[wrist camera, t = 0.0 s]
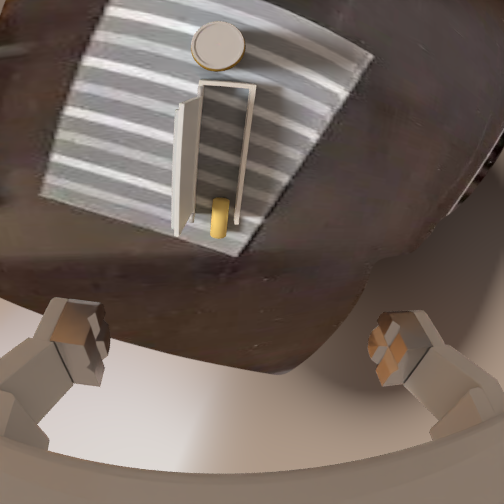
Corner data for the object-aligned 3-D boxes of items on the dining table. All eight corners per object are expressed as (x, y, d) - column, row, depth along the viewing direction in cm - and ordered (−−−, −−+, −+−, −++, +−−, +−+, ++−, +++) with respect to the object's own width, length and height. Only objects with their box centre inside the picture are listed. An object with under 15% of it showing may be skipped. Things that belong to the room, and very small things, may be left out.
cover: (199, 97, 44) (191, 96, 45) (184, 103, 37) (174, 103, 37) (192, 212, 55) (184, 211, 55) (178, 236, 48) (170, 235, 48)
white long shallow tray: (200, 79, 46) (198, 80, 43) (254, 83, 47) (257, 85, 44) (190, 213, 60) (189, 223, 56) (237, 215, 61) (238, 226, 57)
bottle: (245, 34, 42) (254, 24, 30) (235, 73, 46) (240, 77, 34) (202, 26, 41) (195, 13, 29) (192, 65, 45) (181, 67, 32)
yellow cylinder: (213, 196, 58) (212, 203, 56) (229, 197, 59) (229, 205, 56) (210, 229, 62) (209, 238, 60) (226, 230, 63) (226, 239, 60)
